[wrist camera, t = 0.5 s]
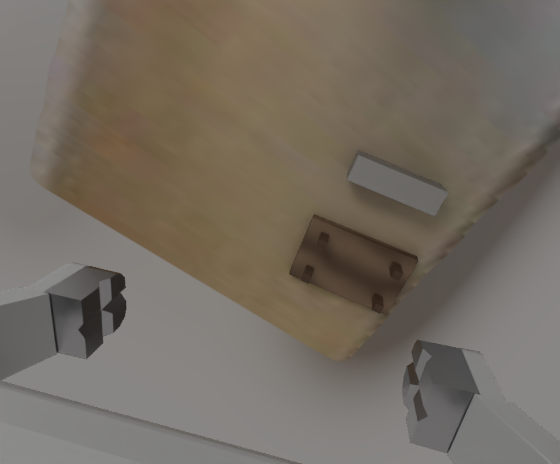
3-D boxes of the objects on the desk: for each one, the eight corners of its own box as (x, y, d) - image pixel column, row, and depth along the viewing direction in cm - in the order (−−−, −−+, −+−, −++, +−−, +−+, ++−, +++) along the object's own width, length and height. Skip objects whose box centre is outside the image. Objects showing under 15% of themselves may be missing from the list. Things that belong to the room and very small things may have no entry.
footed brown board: (314, 214, 53) (310, 224, 49) (416, 256, 52) (421, 270, 48) (290, 269, 57) (285, 283, 53) (385, 309, 56) (387, 326, 52)
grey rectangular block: (357, 149, 49) (358, 155, 45) (441, 184, 48) (448, 192, 44) (347, 172, 50) (346, 179, 46) (428, 206, 50) (434, 216, 46)
